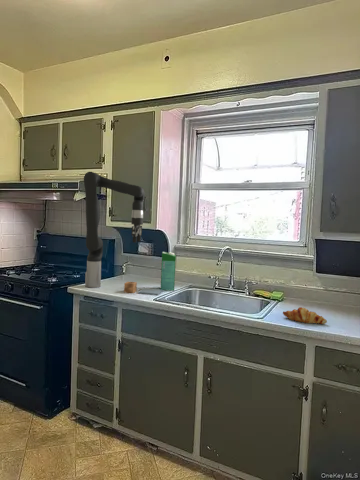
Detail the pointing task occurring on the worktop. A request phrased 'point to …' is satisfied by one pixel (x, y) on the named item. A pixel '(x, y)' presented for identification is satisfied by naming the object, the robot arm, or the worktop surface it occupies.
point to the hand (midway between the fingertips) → (136, 241)
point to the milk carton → (168, 271)
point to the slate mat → (150, 291)
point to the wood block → (130, 287)
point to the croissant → (304, 316)
